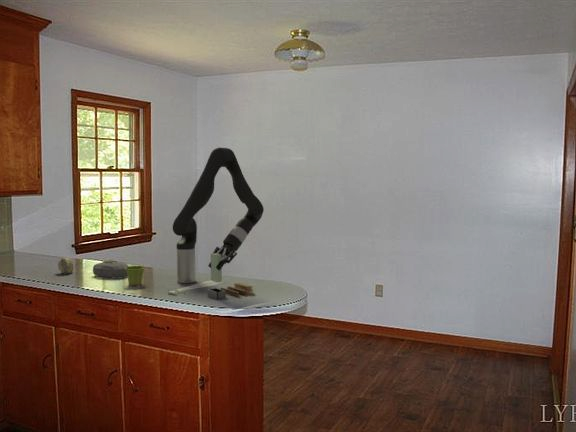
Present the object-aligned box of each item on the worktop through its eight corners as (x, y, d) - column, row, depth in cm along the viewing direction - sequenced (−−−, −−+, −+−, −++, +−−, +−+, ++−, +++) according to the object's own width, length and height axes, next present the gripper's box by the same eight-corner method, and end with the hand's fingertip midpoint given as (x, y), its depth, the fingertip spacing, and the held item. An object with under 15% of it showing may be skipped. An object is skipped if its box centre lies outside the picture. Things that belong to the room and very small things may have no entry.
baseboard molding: (230, 285, 259) (211, 282, 265) (230, 279, 259) (211, 277, 265) (187, 298, 233) (168, 295, 239) (187, 292, 232) (167, 289, 239)
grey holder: (216, 296, 233) (216, 287, 233) (226, 299, 227) (226, 291, 227) (206, 298, 230) (206, 289, 229) (216, 301, 224) (216, 292, 223)
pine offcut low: (237, 289, 243) (237, 285, 243) (253, 293, 234) (253, 289, 234) (231, 290, 241) (231, 286, 241) (246, 294, 232) (246, 290, 232)
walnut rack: (237, 290, 245) (237, 284, 244) (255, 295, 234) (255, 289, 234) (219, 294, 238) (218, 287, 237) (237, 299, 227) (236, 293, 227)
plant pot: (149, 283, 260) (148, 266, 259) (133, 287, 252) (133, 269, 251) (136, 281, 265) (136, 265, 264) (121, 285, 257) (121, 267, 256)
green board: (214, 279, 230) (214, 253, 229) (221, 281, 226) (221, 254, 225) (211, 280, 229) (210, 253, 228) (218, 282, 225) (217, 255, 224)
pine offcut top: (239, 286, 241) (239, 282, 241) (252, 289, 234) (252, 285, 234) (234, 287, 239) (234, 283, 239) (246, 290, 232) (246, 286, 232)
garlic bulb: (68, 278, 284) (67, 263, 280) (54, 275, 285) (52, 260, 281) (78, 270, 293) (76, 255, 289) (64, 267, 294) (63, 252, 290)
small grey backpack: (89, 276, 278) (115, 280, 268) (88, 261, 277) (114, 264, 267) (111, 272, 291) (136, 275, 281) (110, 257, 290) (136, 260, 280)
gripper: (221, 231, 236) (199, 260, 230) (240, 234, 226) (217, 265, 219) (231, 242, 240) (209, 270, 234) (249, 245, 230) (228, 275, 223)
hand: (213, 268), depth 226 cm, fingers closed on green board, 5 cm apart
